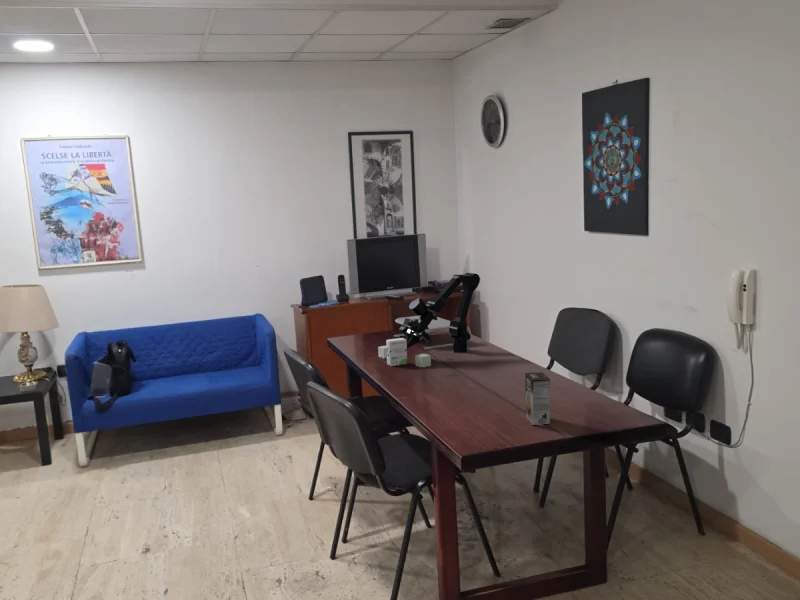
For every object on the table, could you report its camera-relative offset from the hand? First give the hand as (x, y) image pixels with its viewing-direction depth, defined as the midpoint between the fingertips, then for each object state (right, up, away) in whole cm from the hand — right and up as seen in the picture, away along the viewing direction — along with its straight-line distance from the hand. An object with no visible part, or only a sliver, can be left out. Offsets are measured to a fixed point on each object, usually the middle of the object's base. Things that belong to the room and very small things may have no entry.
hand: (404, 348), depth 325 cm
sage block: (+8, -8, -6) cm, 13 cm away
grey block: (-9, -5, +14) cm, 17 cm away
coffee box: (+45, -19, -86) cm, 99 cm away
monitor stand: (+14, +1, +47) cm, 49 cm away
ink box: (-4, -7, -1) cm, 8 cm away
